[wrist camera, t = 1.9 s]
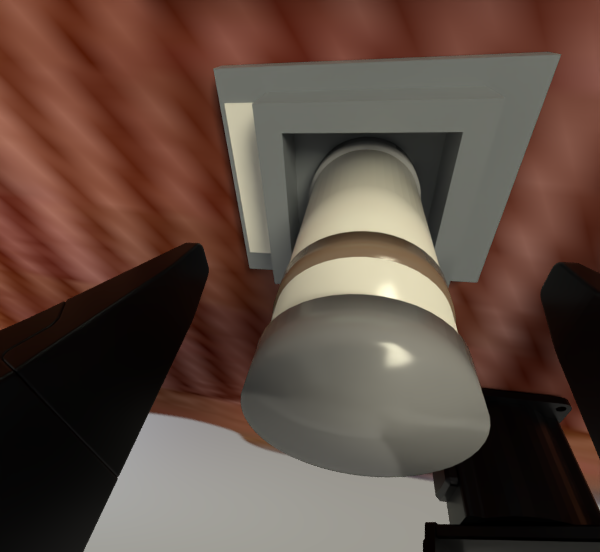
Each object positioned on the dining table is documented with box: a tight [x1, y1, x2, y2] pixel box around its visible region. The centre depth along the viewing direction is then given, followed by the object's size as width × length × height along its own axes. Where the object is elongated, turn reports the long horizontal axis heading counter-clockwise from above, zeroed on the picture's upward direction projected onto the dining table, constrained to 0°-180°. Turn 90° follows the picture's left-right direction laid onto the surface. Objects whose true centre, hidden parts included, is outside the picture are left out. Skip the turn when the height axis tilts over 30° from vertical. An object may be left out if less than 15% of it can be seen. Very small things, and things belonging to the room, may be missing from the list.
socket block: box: [214, 52, 561, 287], centre depth 12 cm, size 10×8×3 cm
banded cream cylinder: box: [241, 137, 490, 477], centre depth 9 cm, size 4×4×9 cm
